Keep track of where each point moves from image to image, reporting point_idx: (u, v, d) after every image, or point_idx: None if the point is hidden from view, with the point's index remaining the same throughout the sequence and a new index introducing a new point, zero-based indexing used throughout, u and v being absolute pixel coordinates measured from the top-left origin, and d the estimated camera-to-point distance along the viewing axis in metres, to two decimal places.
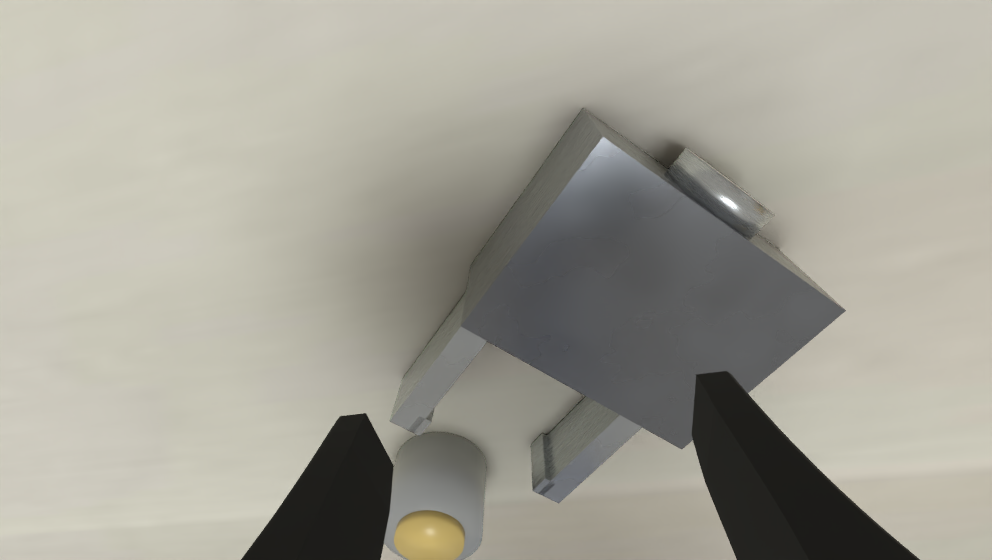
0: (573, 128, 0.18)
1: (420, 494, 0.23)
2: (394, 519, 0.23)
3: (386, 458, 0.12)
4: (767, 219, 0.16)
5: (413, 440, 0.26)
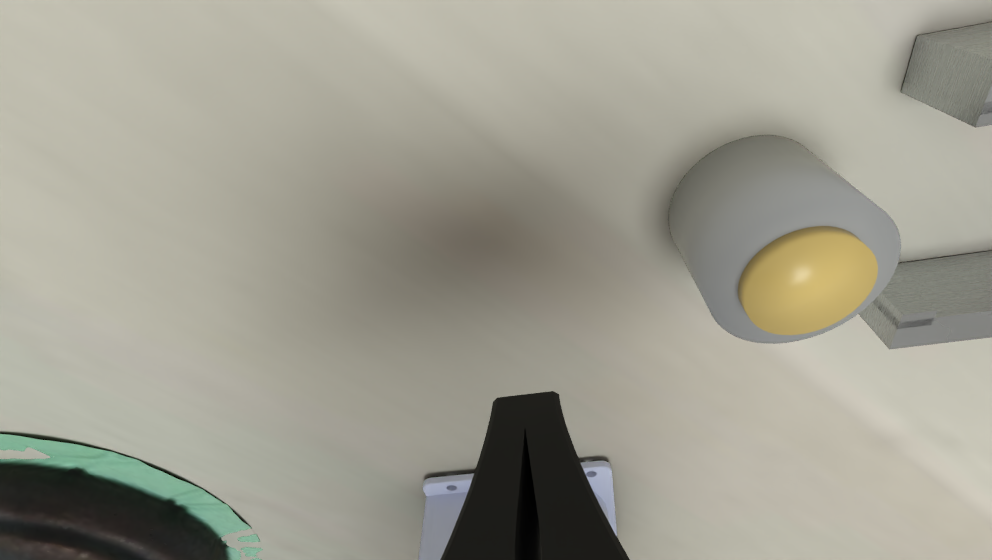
0: None
1: (883, 211, 0.12)
2: (808, 219, 0.12)
3: None
4: None
5: (788, 140, 0.15)
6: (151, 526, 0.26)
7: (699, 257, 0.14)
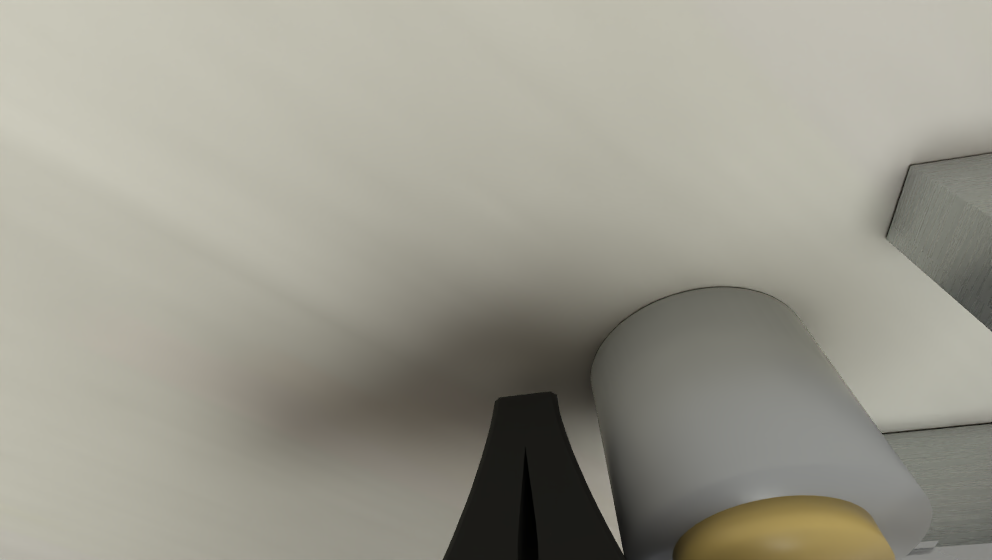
0: None
1: (905, 471, 0.07)
2: (780, 488, 0.07)
3: None
4: None
5: (757, 299, 0.10)
6: None
7: (617, 494, 0.09)
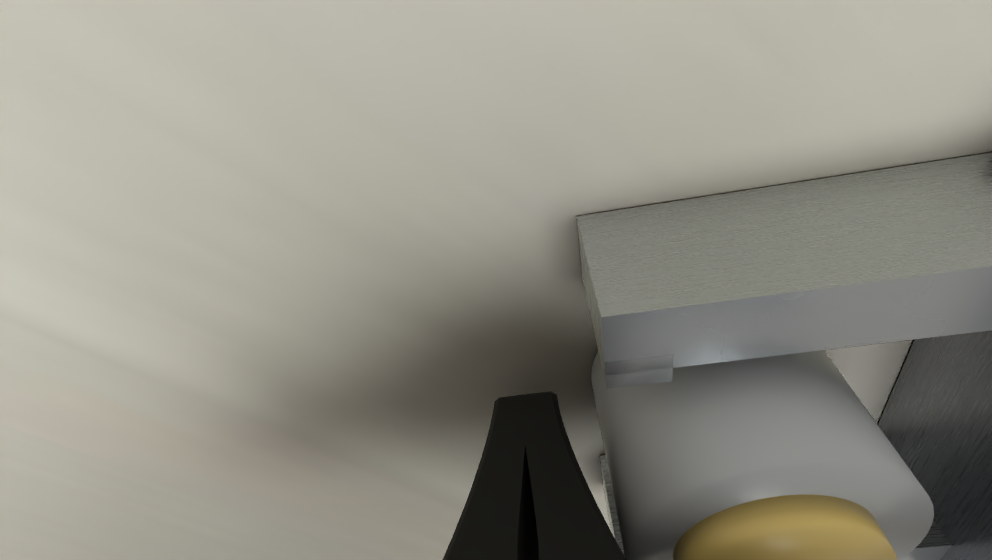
0: None
1: (907, 470, 0.07)
2: (779, 487, 0.07)
3: None
4: None
5: None
6: None
7: (617, 493, 0.09)
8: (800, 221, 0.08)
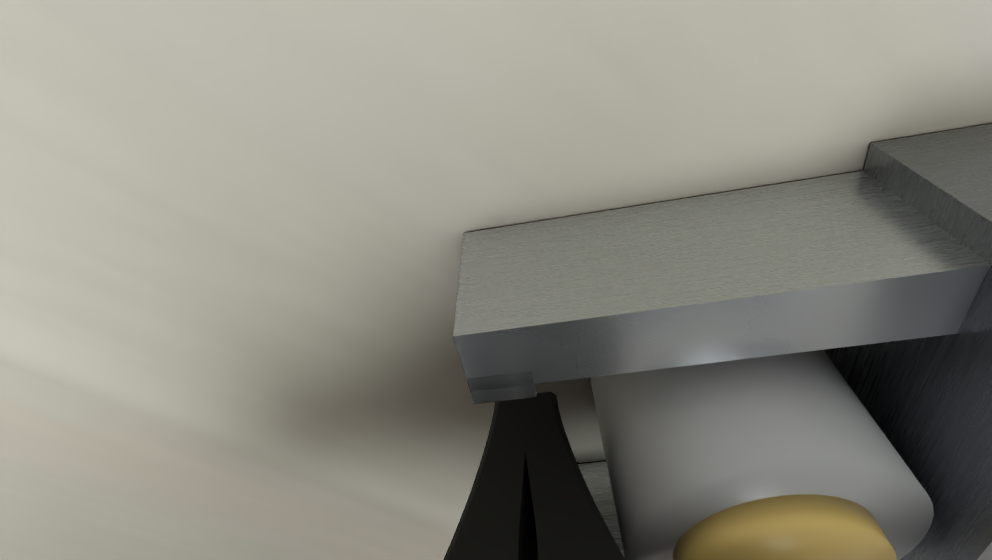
0: None
1: (906, 469, 0.07)
2: (779, 486, 0.07)
3: None
4: None
5: None
6: None
7: (616, 494, 0.09)
8: (664, 240, 0.08)
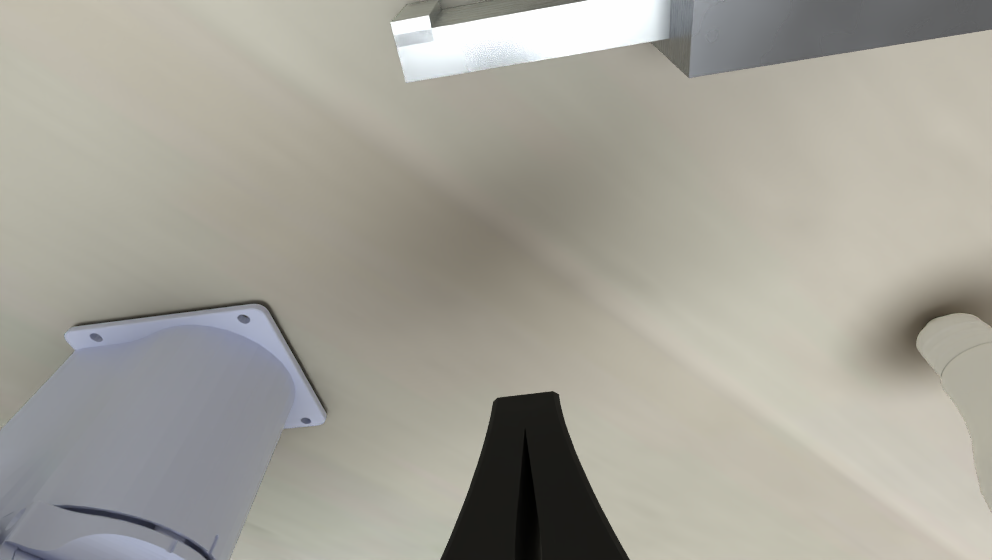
0: None
1: None
2: None
3: None
4: None
5: None
6: None
7: None
8: None
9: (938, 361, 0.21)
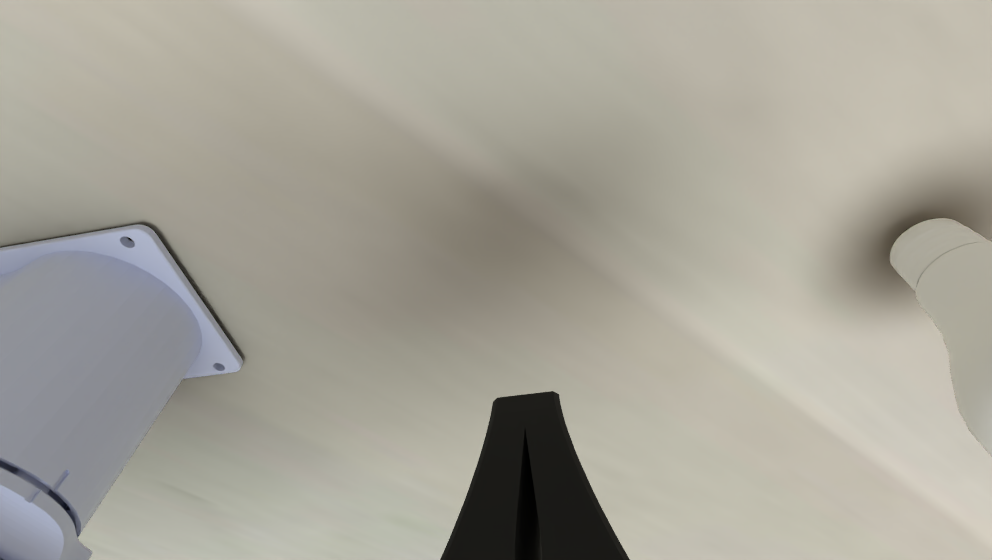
0: None
1: None
2: None
3: None
4: None
5: None
6: None
7: None
8: None
9: (913, 272, 0.18)
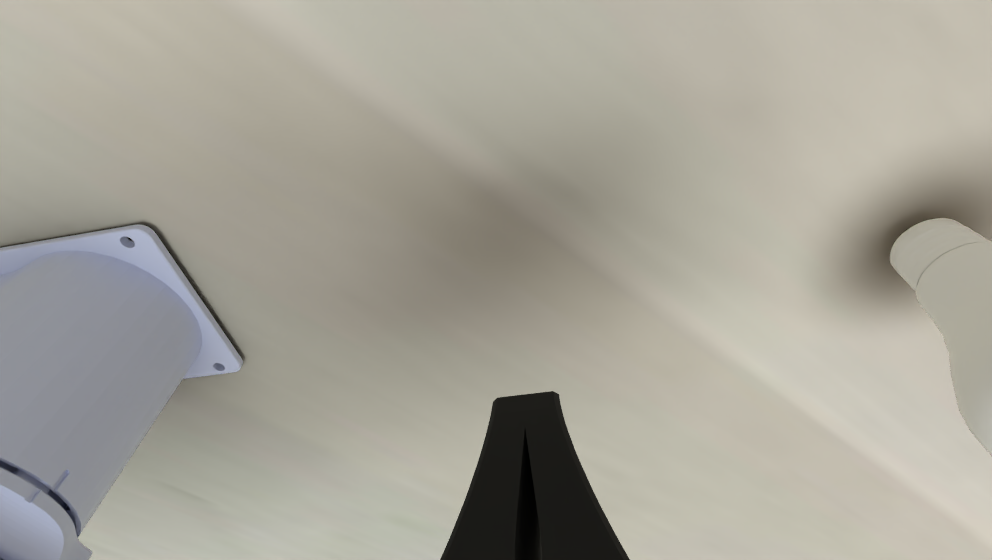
0: None
1: None
2: None
3: None
4: None
5: None
6: None
7: None
8: None
9: (913, 272, 0.18)
